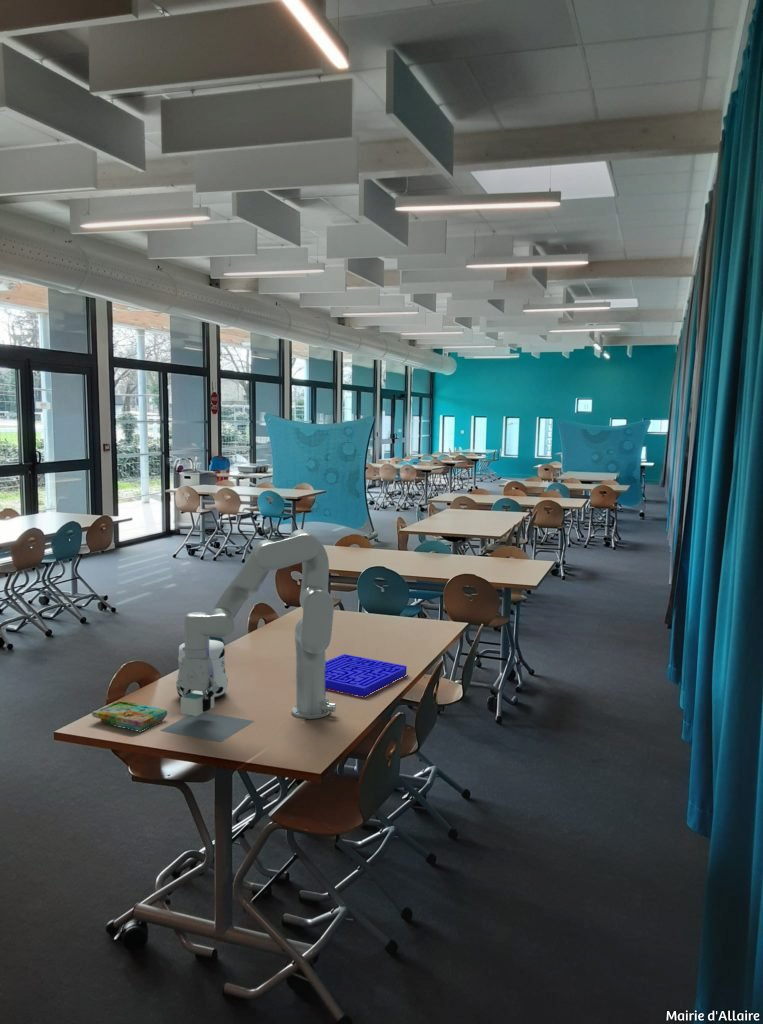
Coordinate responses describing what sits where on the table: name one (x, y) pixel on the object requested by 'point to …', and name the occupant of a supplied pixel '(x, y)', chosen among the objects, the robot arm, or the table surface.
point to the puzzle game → (130, 715)
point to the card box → (194, 703)
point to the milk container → (218, 667)
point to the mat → (208, 726)
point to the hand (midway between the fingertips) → (197, 708)
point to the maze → (360, 674)
